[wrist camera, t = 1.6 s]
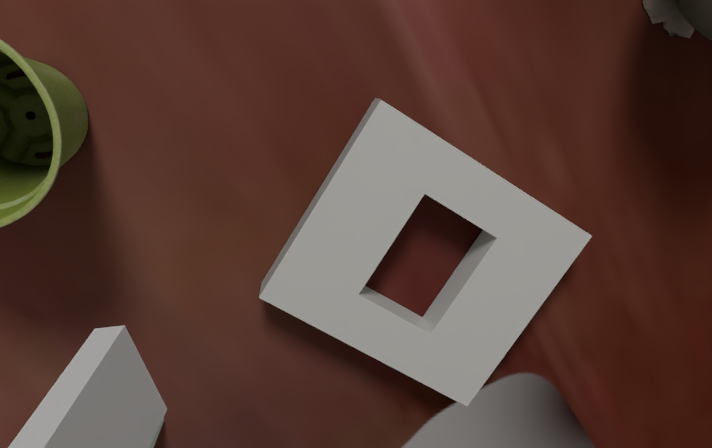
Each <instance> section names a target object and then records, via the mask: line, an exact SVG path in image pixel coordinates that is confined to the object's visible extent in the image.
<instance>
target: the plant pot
mask: <svg viewBox="0 0 712 448" xmlns="http://www.w3.org/2000/svg"><path fill="white" fill-rule="evenodd" d="M19 70H23V71H24V73H25V74H26V75H27V76H20V77H16V78H12V79H9V80H8V79H7V75H8V74H9V73H11V72H15V71H19ZM30 111H31V112H34V114H35V119H32V120H29V119H28V118H27V117H26V113H27V112H30ZM87 130H88V112H87V108H86V104H85V102H84V99H83V97H82V95H81V93H80V92H79V90H78V89H77V87H76V86H75V85H74V83H73V82H72V81H71V80H70V79H68V78H67V77H66V76H65V75H63V74H62V73H61V72H59V71H58V70H56V69H54V68H52V67H51V66H48V65H46V64H43V63H40V62H37V61H34V60H31V59H28V58H25V57H22V56H21V55H20V54H19V53H18V52H17V51H16V50H14V49H13V48H12V47H11V46H10V45H8V44H7V43H5V42H4V41H2V40H1V39H0V227H3V226H5V225H8V224H10V223H12V222H14V221H16V220H18V219H20V218H21V217H23V216H25V215H26V214H27V213H29V212H30V211H31V210H32V209H34V208H35V207H36V206H37V205H38V204H39V203H40V202H41V201H42V200H43V198H44V197H45V196H46V195H47V193H48V192H49V190H50V189H51V187H52V185H53V183H54V182H55V179H56V177H57V174H58V171H59V168H60V167H61V166H62V165H63V164H64V163H65V162H67V161H68V160H69V159H70V158H71V157H72V156H73V155H74V154H75V153H76V152H77V151H78V150H79V148H80V147H81V145H82V143H83V141H84V139H85V137H86V134H87ZM49 151H53V156H49V157H48V158H45V159H41V158H37V157H36V156H35V155H36V153H43V152H49Z"/></svg>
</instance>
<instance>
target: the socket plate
mask: <svg viewBox="0 0 712 448" xmlns="http://www.w3.org/2000/svg"><path fill="white" fill-rule="evenodd" d="M424 194H426V195H428V196H429V197H431V198H433V199H434V200H436V201H437V202H439V203H441V204H442V205H444V206H446V207H447V208H449V209H450V210H452V211H454V212H455V213H457V214H459V215H460V216H462V217H463V218H465V219H467V220H468V221H470V222H472V223H473V224H475V225H476V226H478V227H480V228H481V229H483V230H482V232H481V233H480V235H479V236H478V237H477V239H476V240H475V242H474V243H473V245H472V246H471V248H470V249H469V251H468V252H467V253H466V255H465V256H464V258H463V259H462V261H461V262H460V264H459V265H458V267H457V268H456V269H455V271H454V272H453V274H452V275H451V277H450V278H449V280H448V281H447V283H446V284H445V285H444V287H443V288H442V290H441V291H440V293H439V294H438V296H437V297H436V299H435V300H434V301H433V303H432V304H431V306H430V307H429V309H428V310H427V312H426V313H425V315H424V316H423V317H421V316H419V315H417V314H415V313H414V312H412V311H410V310H408V309H406V308H405V307H403V306H401V305H399V304H397V303H396V302H394V301H392V300H390V299H388V298H387V297H385V296H383V295H381V294H379V293H378V292H376V291H374V290H372V289H370V288H369V287H367V286H365V284H366V283H367V281H368V280H369V278H370V277H371V275H372V274H373V272H374V270H375V269H376V267H377V266H378V264H379V263H380V261H381V260H382V258H383V257H384V255H385V254H386V252H387V251H388V249H389V248H390V246H391V245H392V243H393V242H394V240H395V238H396V237H397V235H398V234H399V232H400V231H401V229H402V228H403V226H404V225H405V223H406V222H407V220H408V219H409V217H410V216H411V214H412V213H413V211H414V209H415V208H416V206H417V205H418V203H419V202H420V200H421V199H422V197H423V196H424ZM591 237H592V236H591V235H590V234H588V233H587V232H585V231H584V230H582V229H581V228H579V227H577V226H576V225H574V224H573V223H571V222H570V221H568V220H567V219H565V218H563V217H562V216H560V215H559V214H557V213H556V212H554V211H553V210H551V209H550V208H548V207H546V206H545V205H543V204H542V203H540V202H539V201H537V200H536V199H534V198H533V197H531V196H529V195H528V194H526V193H525V192H523V191H522V190H520V189H519V188H517V187H515V186H514V185H512V184H511V183H509V182H508V181H506V180H505V179H503V178H502V177H500V176H498V175H497V174H495V173H494V172H492V171H491V170H489V169H488V168H486V167H485V166H483V165H481V164H480V163H478V162H477V161H475V160H474V159H472V158H471V157H469V156H467V155H466V154H464V153H463V152H461V151H460V150H458V149H457V148H455V147H454V146H452V145H450V144H449V143H447V142H446V141H444V140H443V139H441V138H440V137H438V136H437V135H435V134H433V133H432V132H430V131H429V130H427V129H426V128H424V127H423V126H421V125H419V124H418V123H416V122H415V121H413V120H412V119H410V118H409V117H407V116H406V115H404V114H402V113H401V112H399V111H398V110H396V109H395V108H393V107H392V106H390V105H388V104H387V103H385V102H384V101H382V100H381V99H378V98H376V97H375V99H374V101H373V102H372V104H371V105H370V107H369V109H368V110H367V112H366V114H365V115H364V117H363V118H362V120H361V122H360V123H359V125H358V127H357V128H356V130H355V131H354V133H353V135H352V136H351V138H350V140H349V141H348V143H347V145H346V146H345V148H344V149H343V151H342V153H341V154H340V156H339V158H338V159H337V161H336V162H335V164H334V166H333V167H332V169H331V171H330V172H329V174H328V175H327V177H326V179H325V180H324V182H323V184H322V185H321V187H320V188H319V190H318V192H317V193H316V195H315V197H314V198H313V200H312V201H311V203H310V205H309V206H308V208H307V210H306V211H305V213H304V215H303V216H302V218H301V219H300V221H299V223H298V224H297V226H296V228H295V229H294V231H293V232H292V234H291V236H290V237H289V239H288V241H287V242H286V244H285V245H284V247H283V249H282V250H281V252H280V254H279V255H278V257H277V258H276V260H275V262H274V263H273V265H272V267H271V268H270V270H269V271H268V273H267V275H266V276H265V278H264V280H263V281H262V283H261V288H260V294H259V298H260V299H262V300H264V301H266V302H268V303H270V304H272V305H274V306H276V307H278V308H279V309H281V310H283V311H285V312H287V313H289V314H291V315H293V316H295V317H297V318H299V319H300V320H302V321H304V322H306V323H308V324H310V325H312V326H314V327H316V328H318V329H320V330H321V331H323V332H325V333H327V334H329V335H331V336H333V337H335V338H337V339H339V340H341V341H342V342H344V343H346V344H348V345H350V346H352V347H354V348H356V349H358V350H360V351H362V352H363V353H365V354H367V355H369V356H371V357H373V358H375V359H377V360H379V361H381V362H383V363H384V364H386V365H388V366H390V367H392V368H394V369H396V370H398V371H400V372H402V373H404V374H405V375H407V376H409V377H411V378H413V379H415V380H417V381H419V382H421V383H423V384H425V385H426V386H428V387H430V388H432V389H434V390H436V391H438V392H440V393H442V394H444V395H446V396H447V397H449V398H451V399H453V400H455V401H457V402H459V403H461V404H463V405H465V406H468V405H469V404H470V402H471V400H473V398H474V397H475V395H476V394H477V393H478V391H479V390H480V389H481V387H482V386H483V384H484V383H485V382H486V380H487V379H488V378H489V376H490V375H491V374H492V372H493V371H494V369H495V368H496V367H497V365H498V364H499V363H500V361H501V360H502V359H503V357H504V356H505V354H506V353H507V352H508V350H509V349H510V348H511V346H512V345H513V343H514V342H515V341H516V339H517V338H518V337H519V335H520V334H521V333H522V331H523V330H524V328H525V327H526V326H527V324H528V323H529V322H530V320H531V319H532V318H533V316H534V315H535V313H536V312H537V311H538V309H539V308H540V307H541V305H542V304H543V302H544V301H545V300H546V298H547V297H548V296H549V294H550V293H551V292H552V290H553V289H554V287H555V286H556V285H557V283H558V282H559V281H560V279H561V278H562V277H563V275H564V274H565V272H566V271H567V270H568V268H569V267H570V266H571V264H572V263H573V261H574V260H575V259H576V257H577V256H578V255H579V253H580V252H581V251H582V249H583V248H584V246H585V245H586V244H587V242H588V241H589V240H590V238H591Z"/></svg>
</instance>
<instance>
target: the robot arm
mask: <svg viewBox="0 0 712 448" xmlns="http://www.w3.org/2000/svg"><path fill="white" fill-rule="evenodd" d="M166 411H167V408H166V406H165V404H164V402H163V400H162V398H161V396H160V394H159V392H158V390H157V388H156V386H155V384H154V382H153V380H152V378H151V376H150V374H149V372H148V370H147V368H146V366H145V364H144V362H143V360H142V358H141V356H140V355H139V353H138V351H137V349H136V347H135V345H134V343H133V341H132V339H131V337H130V335H129V333H128V331H127V329H126V327H125V325H124V326H115V327H105V328H96V329H94V330H93V332H92V333H91V334H90V336H89V337H88V338H87V340H86V341H85V343H84V344H83V345H82V347H81V348H80V350H79V351H78V352H77V354H76V355H75V356H74V358H73V359H72V361H71V362H70V363H69V365H68V366H67V367H66V369H65V370H64V372H63V373H62V374H61V376H60V377H59V378H58V380H57V381H56V383H55V384H54V385H53V387H52V388H51V389H50V391H49V392H48V394H47V395H46V396H45V398H44V399H43V400H42V402H41V403H40V405H39V406H38V407H37V409H36V410H35V412H34V413H33V414H32V416H31V417H30V418H29V420H28V421H27V423H26V424H25V425H24V427H23V428H22V429H21V431H20V432H19V434H18V435H17V436H16V438H15V439H14V440H13V442H12V443H11V445H10V446H9V447H8V448H149V447H150V445H151V443H152V440H153V438H154V436H155V434H156V432H157V430H158V428H159V426H160V423H161V421H162V419H163V417H164V415H165V413H166Z"/></svg>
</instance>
